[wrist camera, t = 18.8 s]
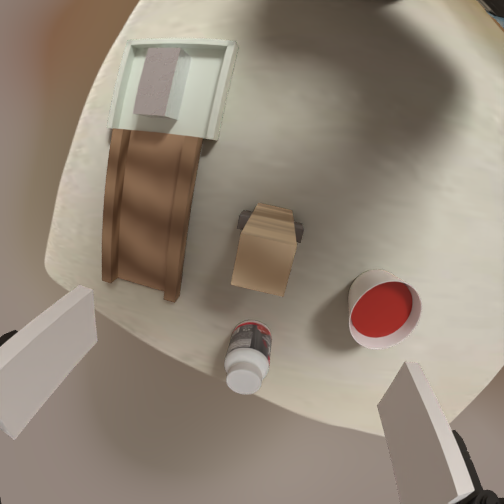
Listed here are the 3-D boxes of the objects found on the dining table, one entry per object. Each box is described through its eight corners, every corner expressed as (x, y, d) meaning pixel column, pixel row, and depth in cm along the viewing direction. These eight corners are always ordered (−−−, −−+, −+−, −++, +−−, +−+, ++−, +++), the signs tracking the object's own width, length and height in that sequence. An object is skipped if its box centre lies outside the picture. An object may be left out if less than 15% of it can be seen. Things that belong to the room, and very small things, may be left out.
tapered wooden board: (245, 199, 34) (219, 228, 20) (304, 213, 33) (317, 251, 20) (239, 232, 35) (211, 279, 22) (296, 245, 35) (302, 300, 21)
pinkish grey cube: (154, 86, 30) (140, 79, 26) (184, 88, 29) (172, 80, 26) (148, 117, 31) (132, 113, 27) (177, 119, 31) (164, 116, 27)
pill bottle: (278, 343, 39) (275, 392, 30) (244, 354, 41) (234, 403, 31) (261, 313, 38) (253, 359, 29) (226, 326, 39) (210, 372, 30)
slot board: (125, 129, 32) (112, 128, 29) (205, 138, 32) (198, 137, 29) (112, 272, 39) (102, 280, 36) (182, 292, 38) (174, 302, 35)
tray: (135, 45, 28) (127, 39, 26) (239, 47, 28) (235, 40, 26) (115, 128, 32) (106, 128, 30) (217, 140, 32) (213, 139, 29)
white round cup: (407, 309, 36) (424, 334, 30) (347, 330, 38) (356, 358, 32) (397, 251, 33) (417, 269, 27) (332, 273, 35) (340, 296, 29)
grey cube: (162, 57, 28) (148, 47, 24) (192, 58, 28) (181, 47, 24) (154, 86, 30) (140, 79, 26) (184, 88, 29) (172, 80, 26)
